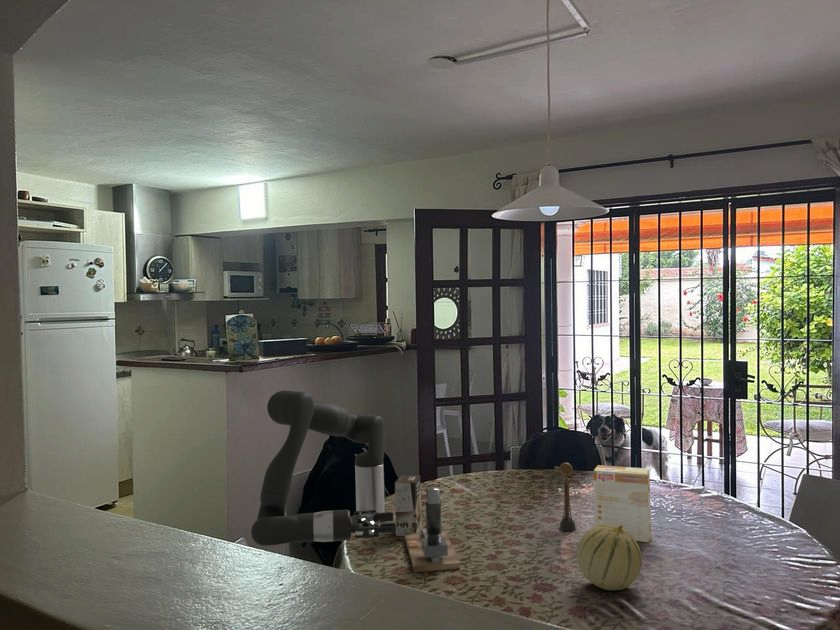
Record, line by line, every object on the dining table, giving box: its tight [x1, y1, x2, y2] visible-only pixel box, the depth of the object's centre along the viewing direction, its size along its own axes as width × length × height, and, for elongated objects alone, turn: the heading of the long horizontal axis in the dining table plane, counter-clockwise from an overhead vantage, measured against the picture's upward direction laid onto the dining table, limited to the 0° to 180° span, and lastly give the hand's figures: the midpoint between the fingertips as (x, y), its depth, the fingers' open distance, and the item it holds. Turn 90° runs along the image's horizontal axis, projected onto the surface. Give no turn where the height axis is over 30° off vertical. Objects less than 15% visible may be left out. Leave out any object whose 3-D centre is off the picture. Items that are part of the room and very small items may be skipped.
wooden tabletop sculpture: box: [554, 462, 577, 532], centre depth 188 cm, size 6×5×20 cm
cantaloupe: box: [576, 524, 643, 591], centre depth 148 cm, size 15×15×15 cm
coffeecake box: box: [593, 464, 652, 543], centre depth 181 cm, size 15×7×20 cm, turn 65°
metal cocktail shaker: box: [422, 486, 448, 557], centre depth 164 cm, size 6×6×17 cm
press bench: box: [404, 527, 461, 573], centre depth 172 cm, size 24×12×3 cm, turn 7°
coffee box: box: [394, 474, 423, 537], centre depth 190 cm, size 9×6×16 cm
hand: (394, 521), depth 163 cm, fingers open, 8 cm apart
